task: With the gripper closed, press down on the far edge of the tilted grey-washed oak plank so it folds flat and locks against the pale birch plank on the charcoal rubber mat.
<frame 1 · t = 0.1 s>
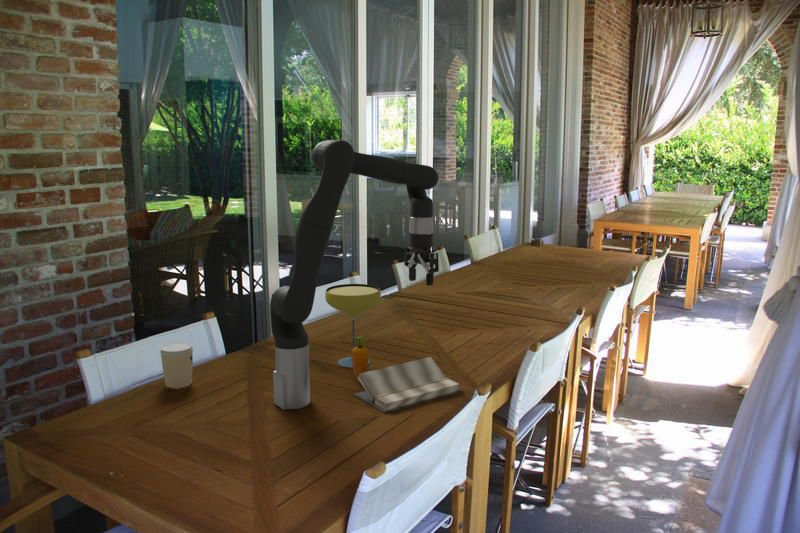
hand: (420, 282, 207), 29 cm above the table, fingers open, 8 cm apart
floor base: (408, 393, 195), on the table
coffee cup: (178, 385, 202), on the table
cocktail glass: (353, 363, 222), on the table
carrot: (360, 383, 204), on the table
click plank: (403, 378, 197), point 4 cm above the table, hinge at 30.0°
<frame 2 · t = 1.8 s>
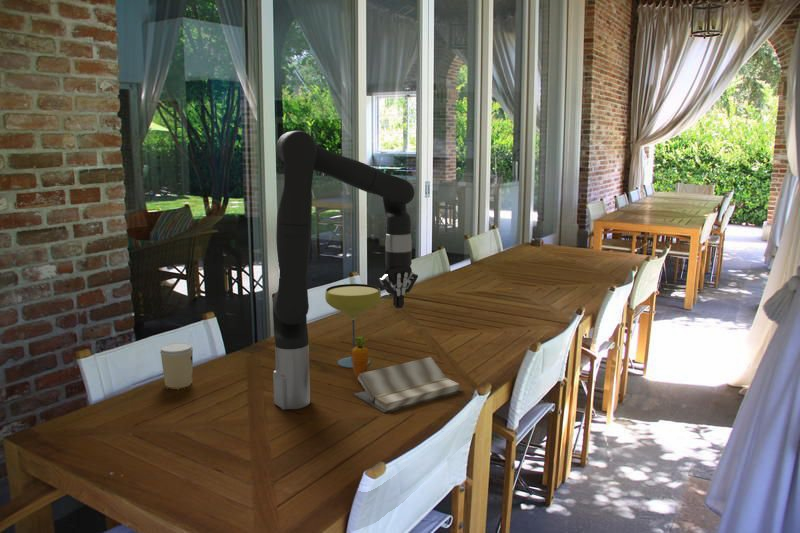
hand: (398, 307, 194), 25 cm above the table, fingers closed
nothing on the table moved.
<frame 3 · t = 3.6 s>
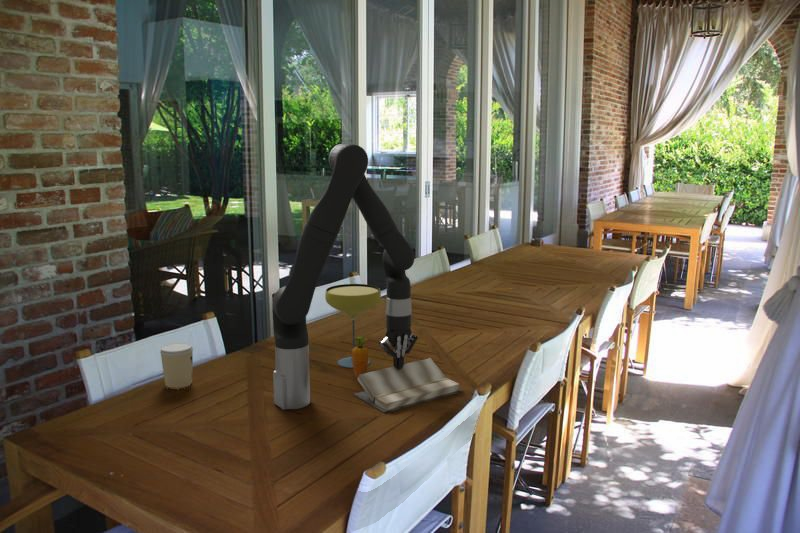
hand: (398, 368, 198), 6 cm above the table, fingers closed
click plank: (402, 378, 197), point 4 cm above the table, hinge at 27.2°, touching gripper
everything else where it was.
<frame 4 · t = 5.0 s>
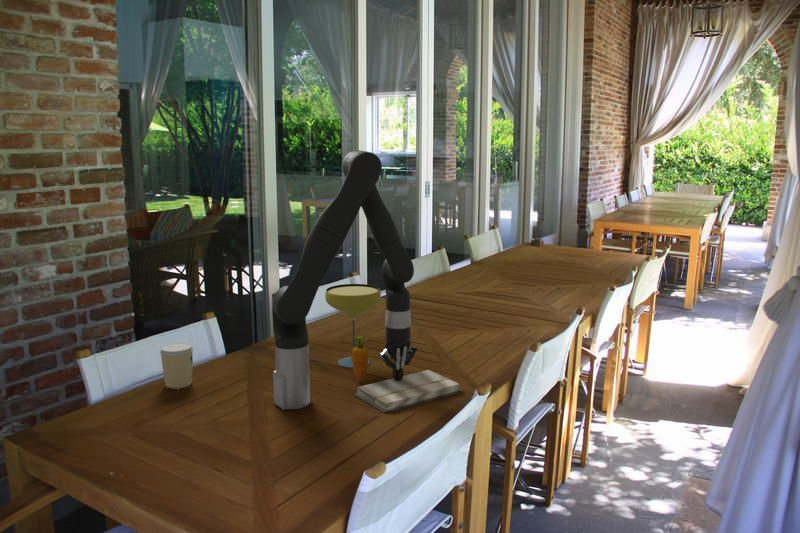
hand: (397, 379, 199), 2 cm above the table, fingers closed
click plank: (402, 385, 197), point 1 cm above the table, hinge at -0.1°, touching floor base, gripper
everything else where it was.
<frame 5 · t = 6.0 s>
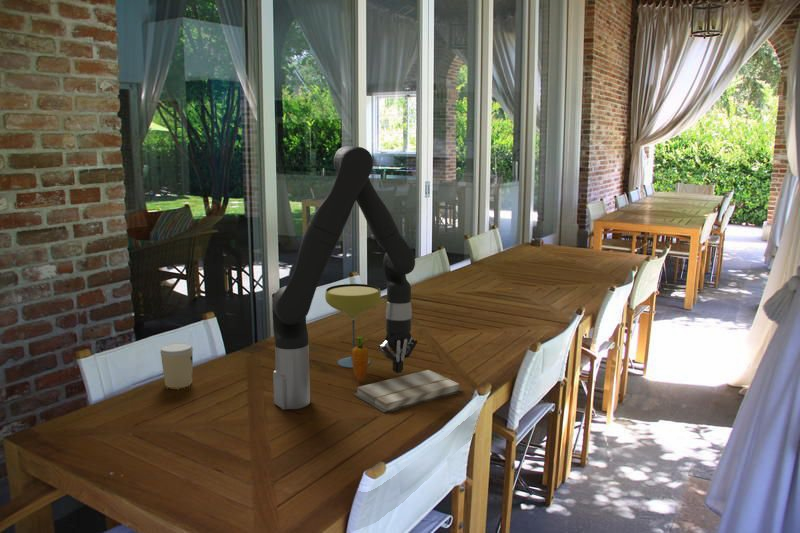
hand: (397, 372, 198), 5 cm above the table, fingers closed
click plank: (402, 385, 197), point 1 cm above the table, hinge at 0.0°, touching floor base
everything else where it was.
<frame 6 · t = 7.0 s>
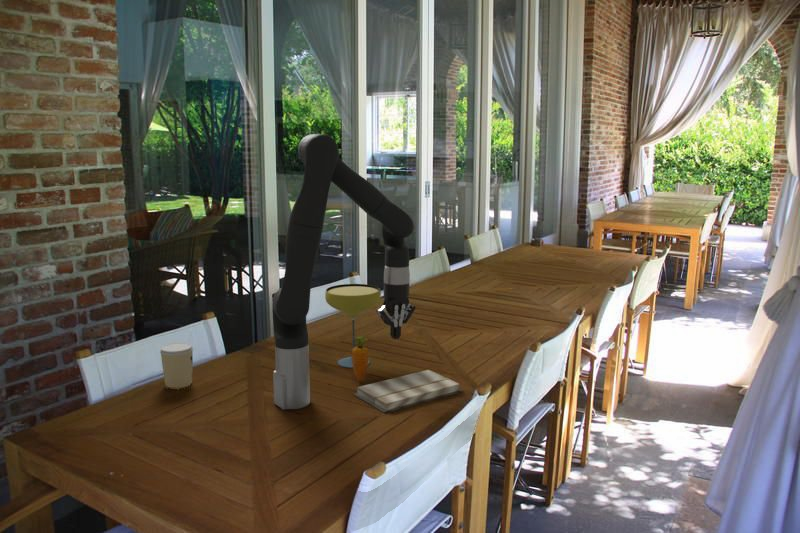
hand: (395, 338, 197), 15 cm above the table, fingers closed
nothing on the table moved.
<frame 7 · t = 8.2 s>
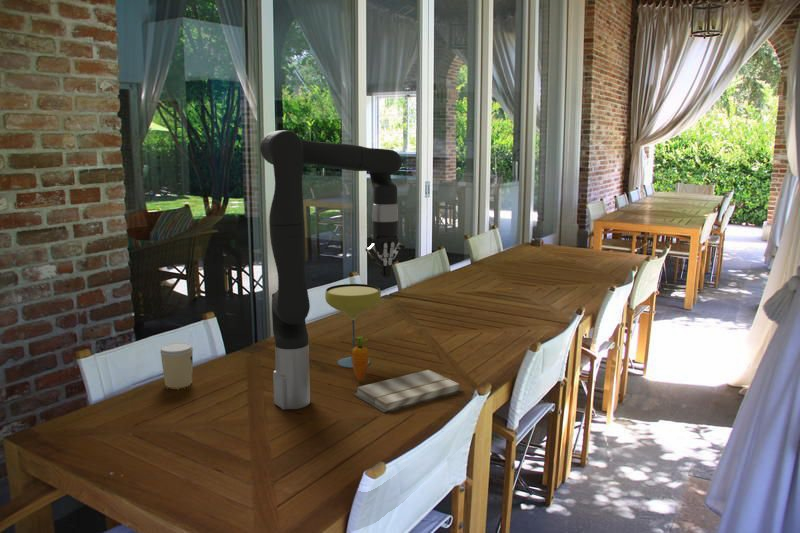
hand: (385, 277, 197), 33 cm above the table, fingers closed
nothing on the table moved.
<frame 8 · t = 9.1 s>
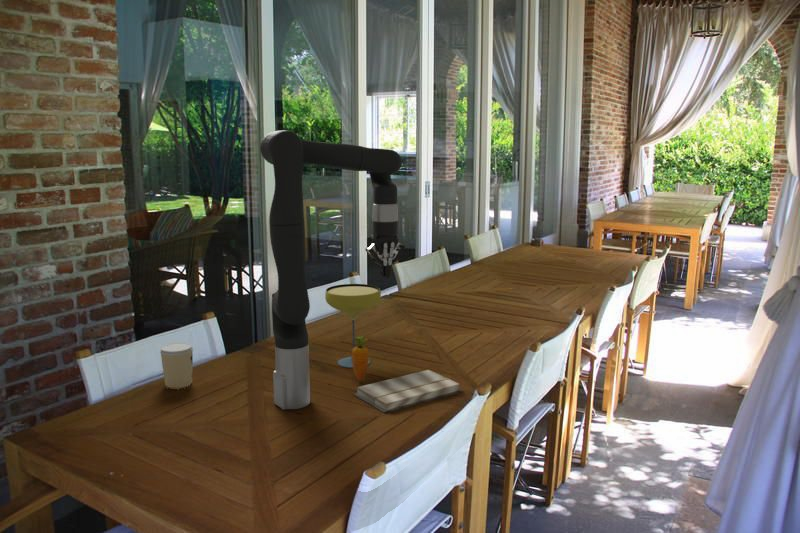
hand: (385, 277, 197), 33 cm above the table, fingers closed
nothing on the table moved.
at the end: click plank at +0° (first picture: +30°); carrot moved 0.2 cm from its start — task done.
